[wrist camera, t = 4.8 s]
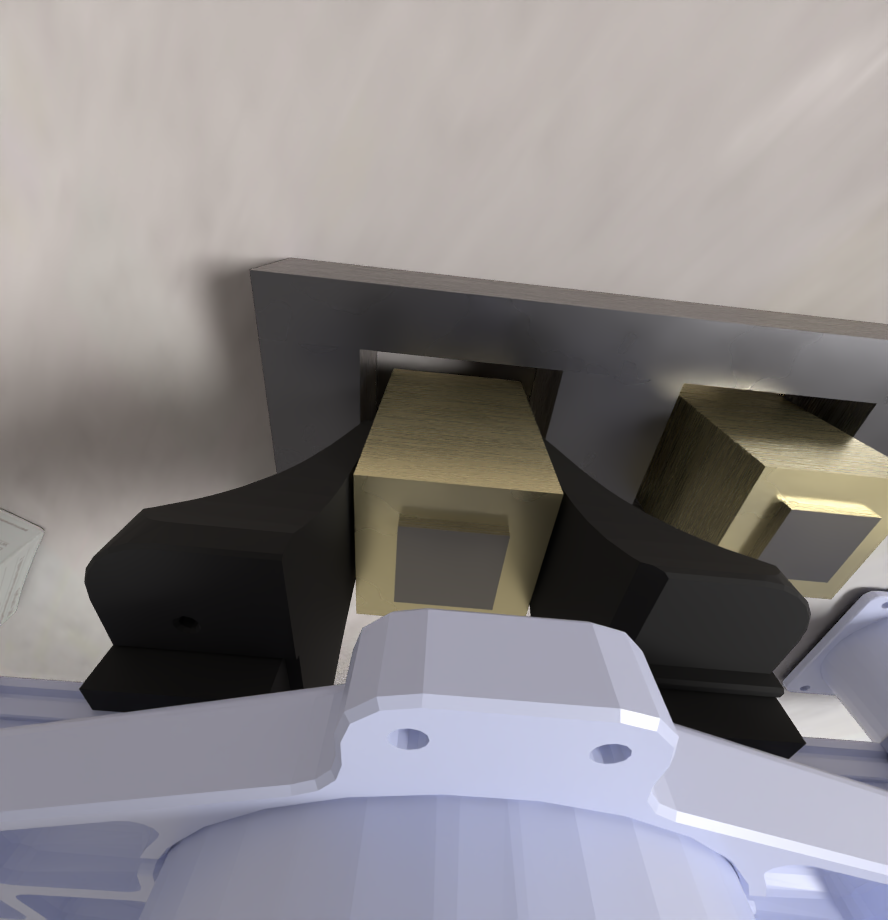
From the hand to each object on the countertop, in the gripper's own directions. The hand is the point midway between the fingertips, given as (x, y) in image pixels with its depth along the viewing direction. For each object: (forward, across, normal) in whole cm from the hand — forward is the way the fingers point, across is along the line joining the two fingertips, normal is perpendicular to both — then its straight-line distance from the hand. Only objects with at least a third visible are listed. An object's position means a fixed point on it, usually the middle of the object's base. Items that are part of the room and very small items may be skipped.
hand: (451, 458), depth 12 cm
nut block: (+2, 0, 0) cm, 2 cm away
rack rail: (+4, -4, 0) cm, 6 cm away
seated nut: (+4, -9, 0) cm, 10 cm away
